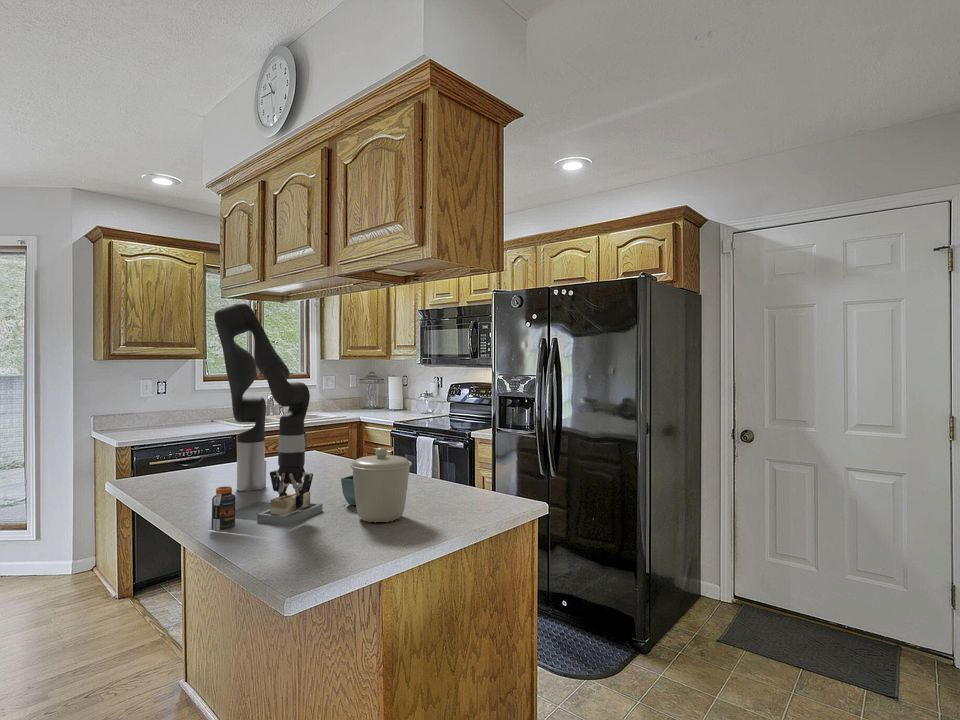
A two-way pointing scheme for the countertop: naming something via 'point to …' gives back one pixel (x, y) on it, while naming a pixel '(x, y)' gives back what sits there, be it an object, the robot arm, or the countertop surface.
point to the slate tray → (290, 515)
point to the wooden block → (288, 503)
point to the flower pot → (348, 489)
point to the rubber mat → (252, 510)
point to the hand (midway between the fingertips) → (291, 506)
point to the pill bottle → (223, 509)
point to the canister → (380, 486)
